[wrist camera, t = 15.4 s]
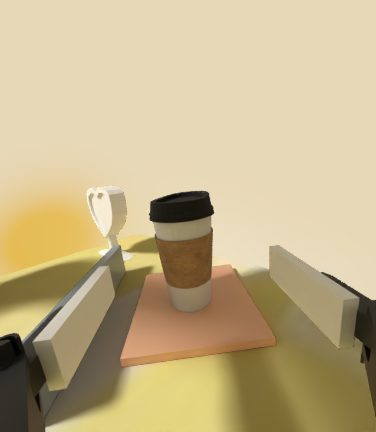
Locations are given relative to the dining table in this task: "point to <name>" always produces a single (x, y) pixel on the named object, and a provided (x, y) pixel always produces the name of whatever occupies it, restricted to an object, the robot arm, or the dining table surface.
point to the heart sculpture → (108, 214)
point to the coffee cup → (185, 247)
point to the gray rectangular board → (117, 272)
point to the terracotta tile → (194, 322)
